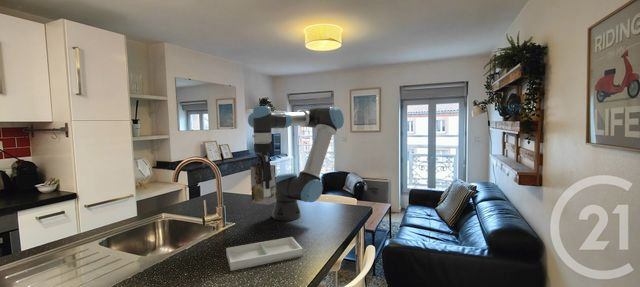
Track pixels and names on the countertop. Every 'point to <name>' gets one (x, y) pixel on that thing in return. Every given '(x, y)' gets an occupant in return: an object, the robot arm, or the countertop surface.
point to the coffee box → (258, 186)
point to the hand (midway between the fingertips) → (264, 193)
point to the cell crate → (263, 253)
